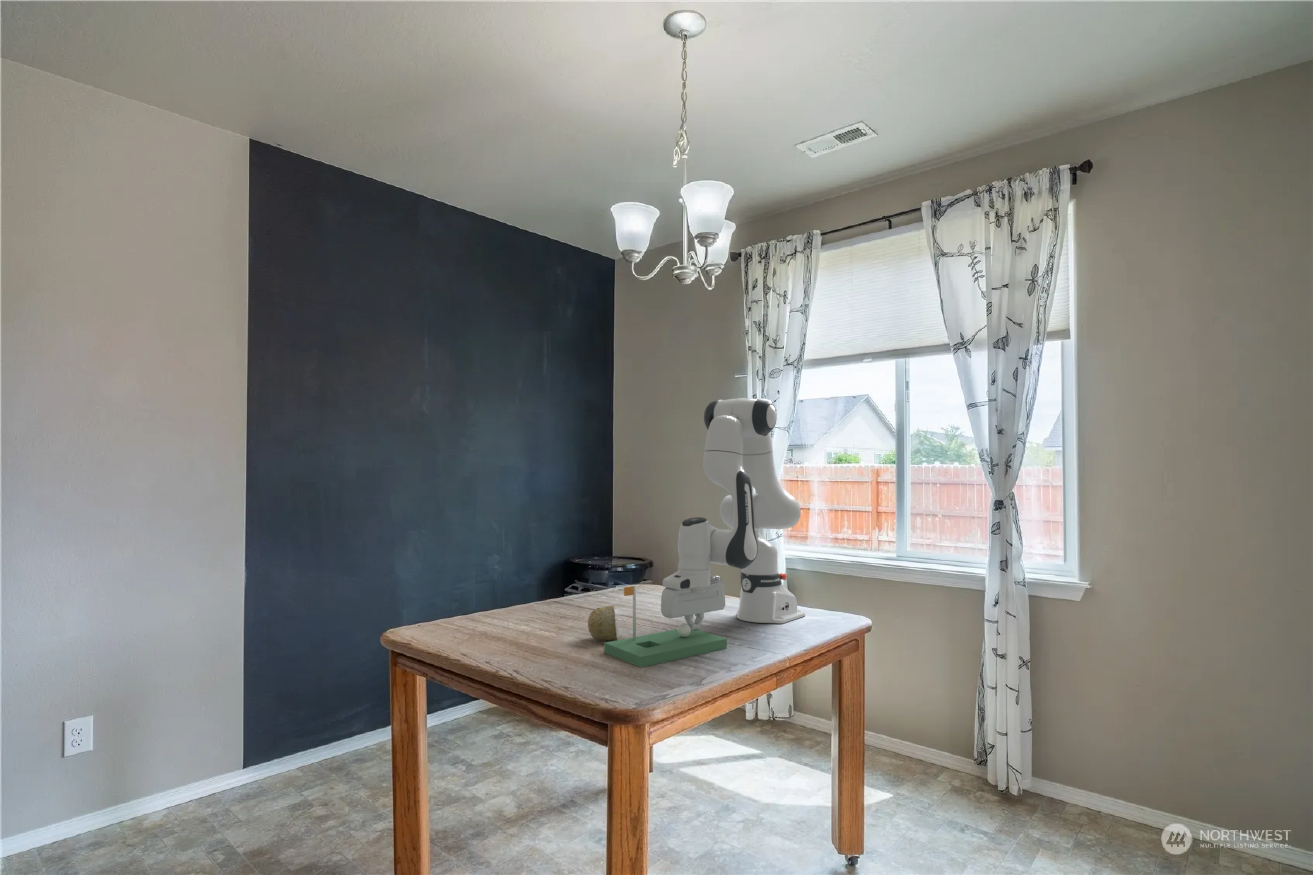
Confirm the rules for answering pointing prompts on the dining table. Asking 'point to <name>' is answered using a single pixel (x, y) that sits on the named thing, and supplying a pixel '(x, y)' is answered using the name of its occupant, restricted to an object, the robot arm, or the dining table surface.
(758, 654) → the dining table surface
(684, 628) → the ball
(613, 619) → the coral
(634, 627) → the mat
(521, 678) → the dining table surface
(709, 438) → the robot arm
